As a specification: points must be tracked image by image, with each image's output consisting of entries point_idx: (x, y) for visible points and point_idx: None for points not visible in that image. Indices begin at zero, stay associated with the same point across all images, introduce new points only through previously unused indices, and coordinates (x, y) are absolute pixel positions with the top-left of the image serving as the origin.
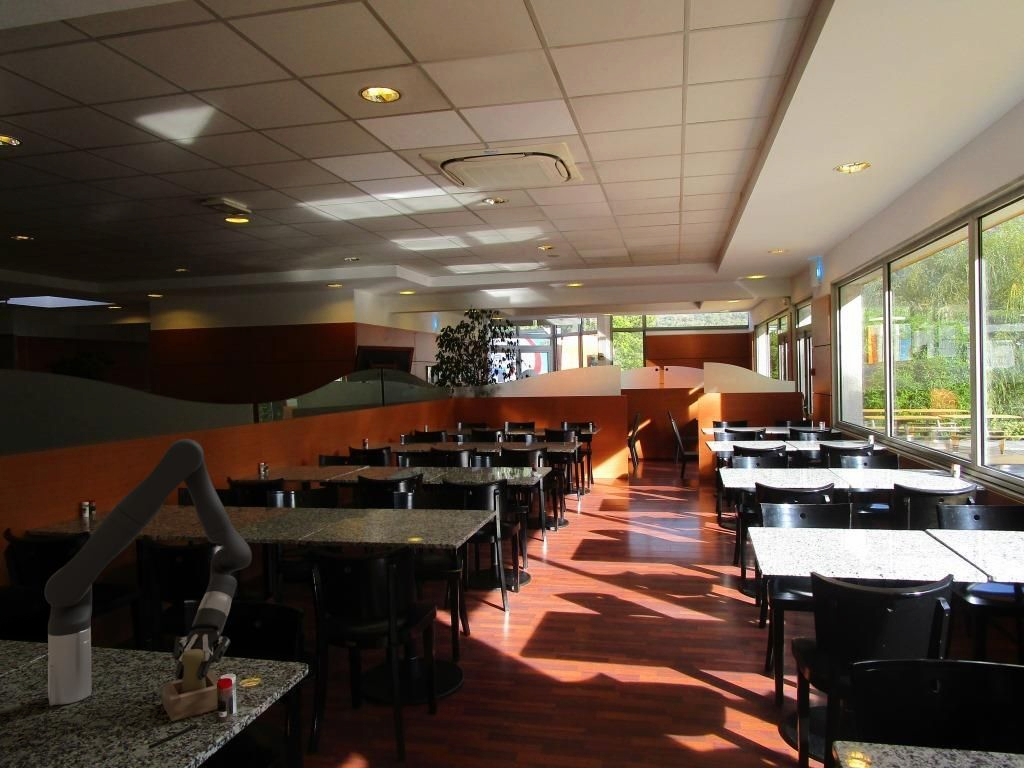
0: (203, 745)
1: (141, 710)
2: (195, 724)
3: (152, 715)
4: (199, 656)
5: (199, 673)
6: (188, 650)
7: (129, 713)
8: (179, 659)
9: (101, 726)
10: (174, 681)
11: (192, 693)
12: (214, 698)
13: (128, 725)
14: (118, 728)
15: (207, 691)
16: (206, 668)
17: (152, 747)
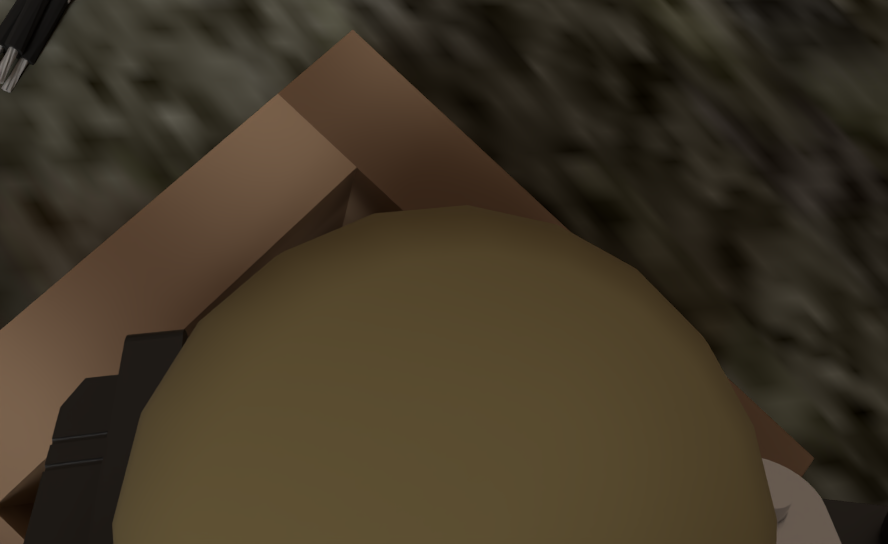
0: None
1: (764, 312)
2: (14, 28)
3: (597, 232)
4: (145, 414)
5: (149, 348)
6: None
7: (813, 249)
8: (793, 482)
9: (832, 36)
10: None
11: (193, 215)
12: None
13: (652, 57)
14: (687, 11)
15: (16, 324)
16: (43, 488)
17: None
